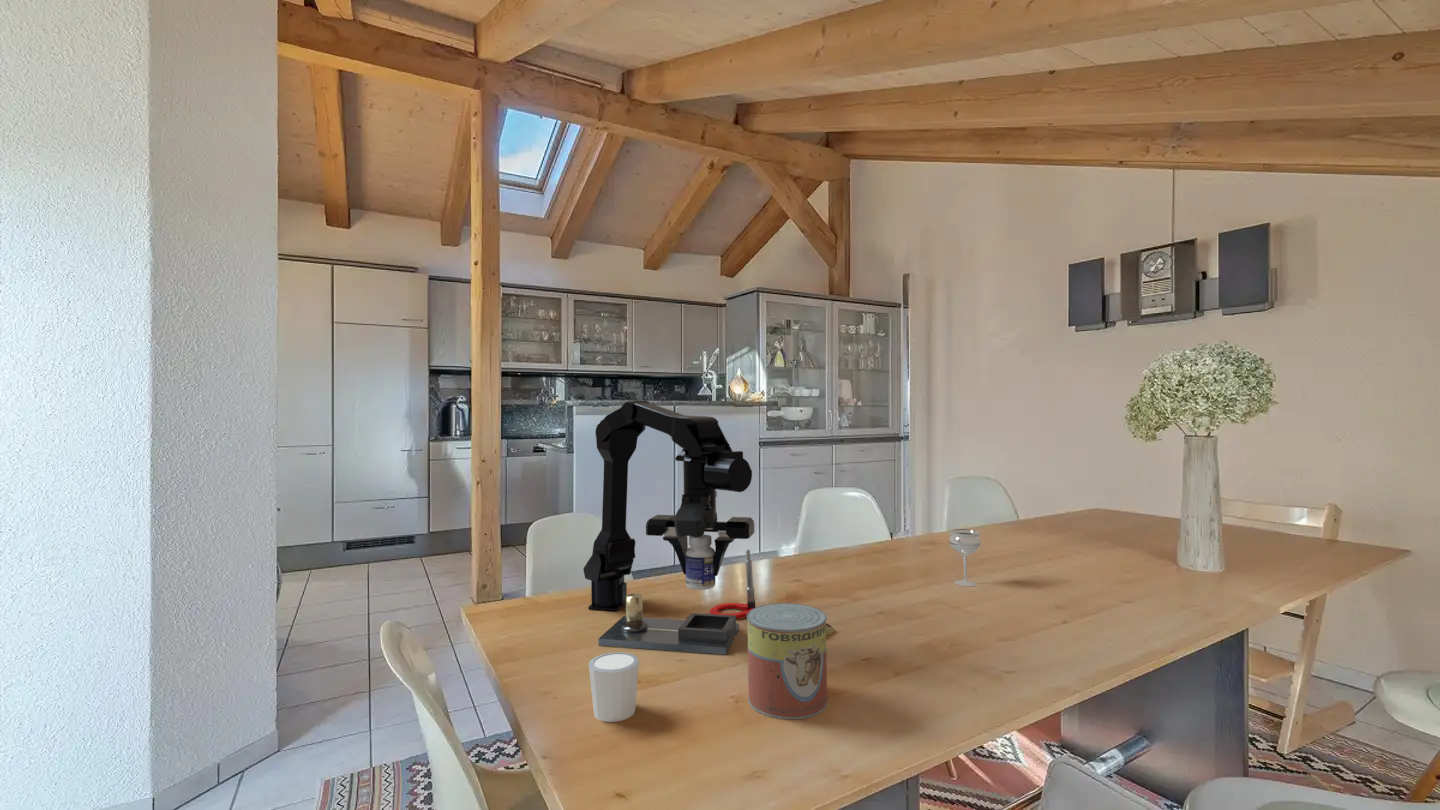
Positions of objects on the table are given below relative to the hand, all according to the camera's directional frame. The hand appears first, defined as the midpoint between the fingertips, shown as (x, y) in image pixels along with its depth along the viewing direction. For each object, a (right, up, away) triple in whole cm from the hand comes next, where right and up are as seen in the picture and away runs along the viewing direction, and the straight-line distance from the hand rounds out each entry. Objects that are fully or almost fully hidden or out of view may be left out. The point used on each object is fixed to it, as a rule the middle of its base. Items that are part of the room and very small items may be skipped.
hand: (700, 574), depth 111 cm
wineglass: (+60, -11, +34) cm, 70 cm away
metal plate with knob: (-6, -12, +2) cm, 13 cm away
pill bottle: (0, -2, 0) cm, 2 cm away
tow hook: (+6, -12, +15) cm, 20 cm away
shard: (+19, -12, +6) cm, 24 cm away
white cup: (-11, -12, -25) cm, 30 cm away
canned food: (+13, -12, -22) cm, 29 cm away
